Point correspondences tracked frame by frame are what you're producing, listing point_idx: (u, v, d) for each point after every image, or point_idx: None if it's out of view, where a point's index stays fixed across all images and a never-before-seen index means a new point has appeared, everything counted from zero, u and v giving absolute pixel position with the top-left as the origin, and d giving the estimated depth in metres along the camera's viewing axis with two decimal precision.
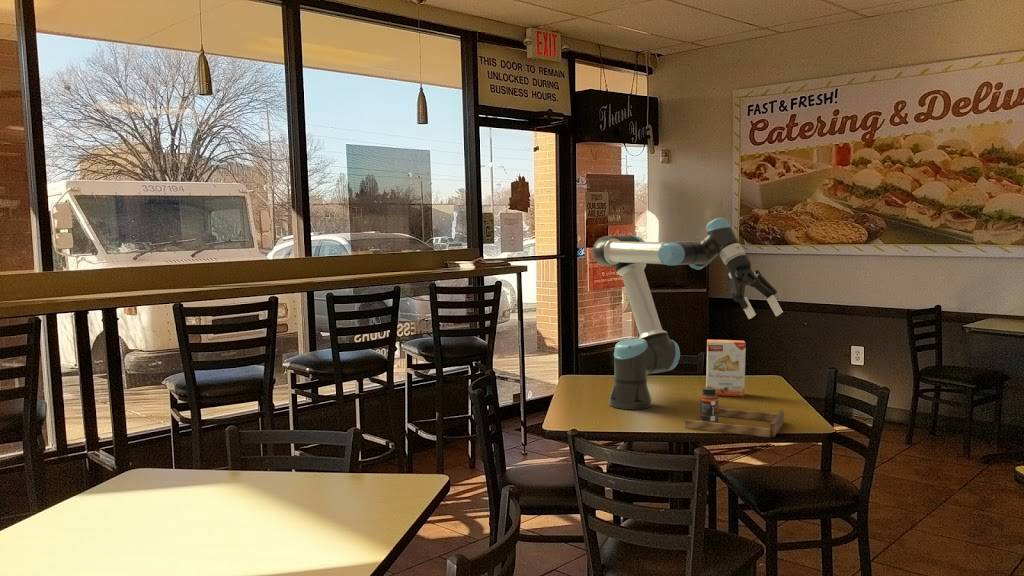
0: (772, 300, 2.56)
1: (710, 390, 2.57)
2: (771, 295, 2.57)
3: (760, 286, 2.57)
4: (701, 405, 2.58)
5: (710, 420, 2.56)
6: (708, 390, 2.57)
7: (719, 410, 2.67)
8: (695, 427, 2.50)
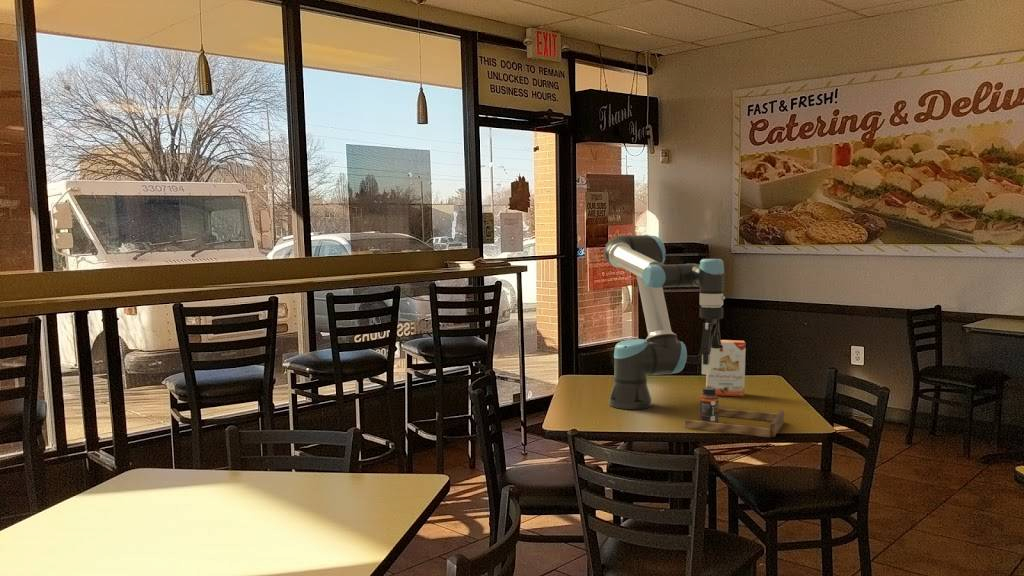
0: (716, 353, 2.63)
1: (710, 390, 2.57)
2: (717, 347, 2.64)
3: (715, 337, 2.61)
4: (701, 405, 2.58)
5: (710, 420, 2.56)
6: (708, 390, 2.57)
7: (719, 410, 2.67)
8: (695, 427, 2.50)
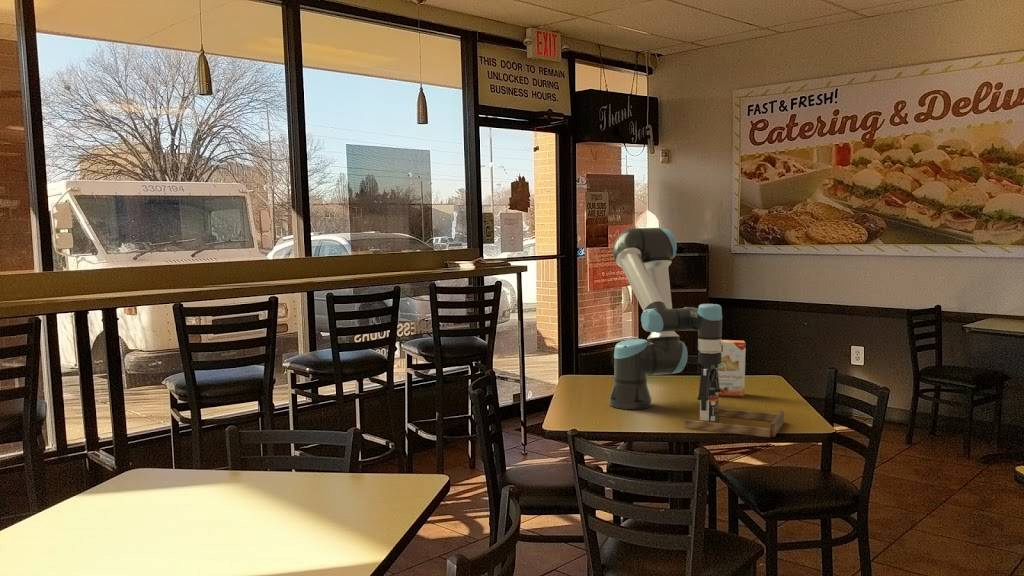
0: None
1: (710, 390, 2.57)
2: None
3: (713, 382, 2.62)
4: None
5: (710, 420, 2.56)
6: None
7: (719, 410, 2.67)
8: (695, 427, 2.50)
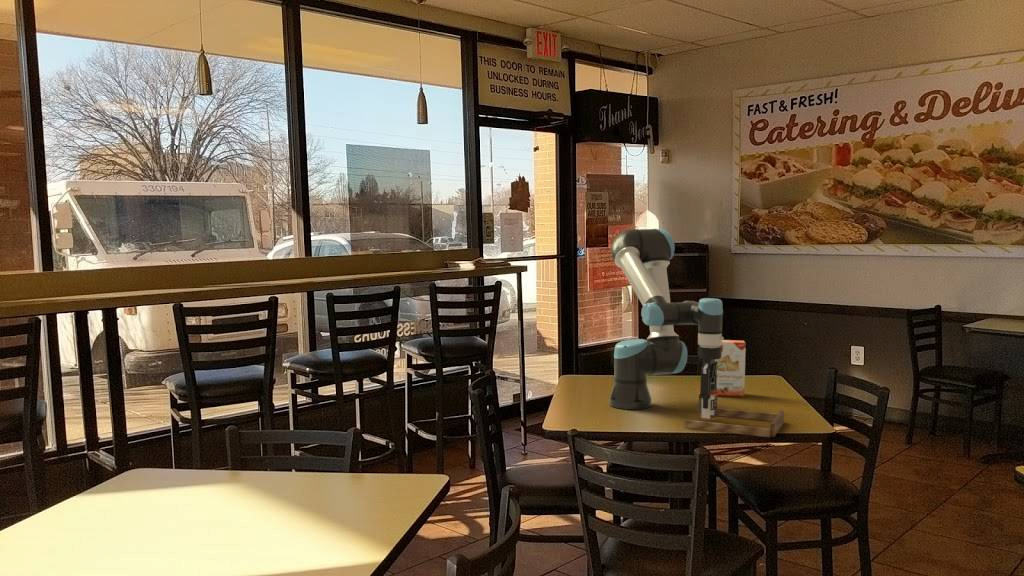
0: None
1: None
2: None
3: (712, 380, 2.60)
4: (700, 399, 2.58)
5: None
6: None
7: (719, 410, 2.67)
8: (695, 427, 2.50)
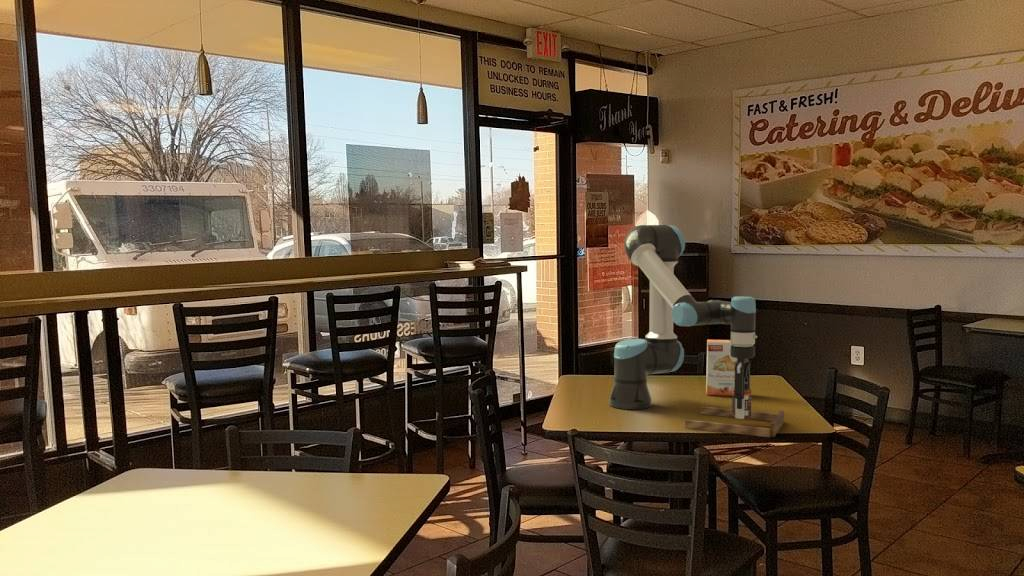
0: None
1: None
2: None
3: (745, 379, 2.55)
4: (734, 399, 2.53)
5: None
6: None
7: (719, 410, 2.67)
8: (695, 427, 2.50)
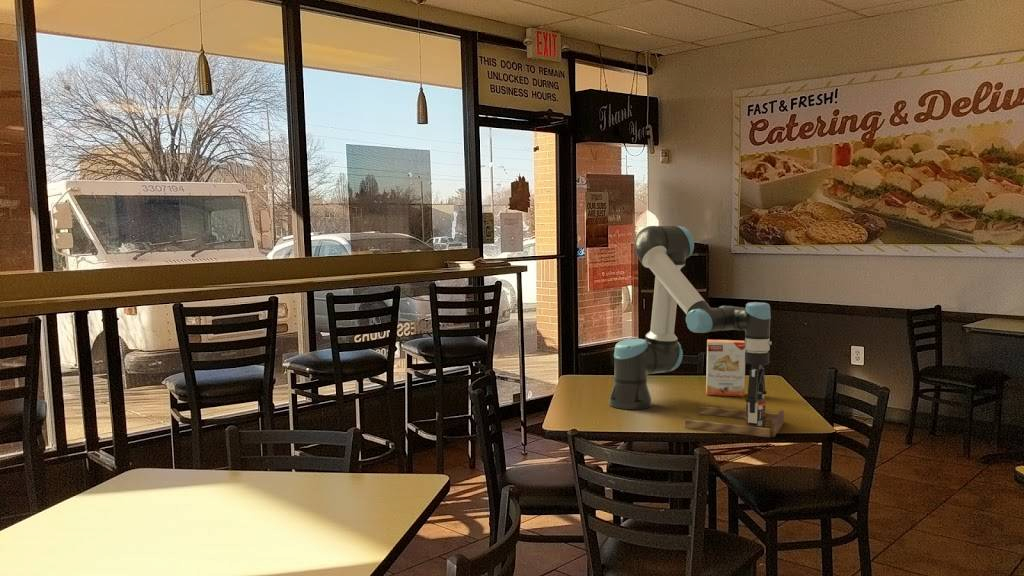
0: None
1: None
2: None
3: (760, 383, 2.55)
4: None
5: (757, 425, 2.50)
6: None
7: (719, 410, 2.67)
8: (695, 427, 2.50)
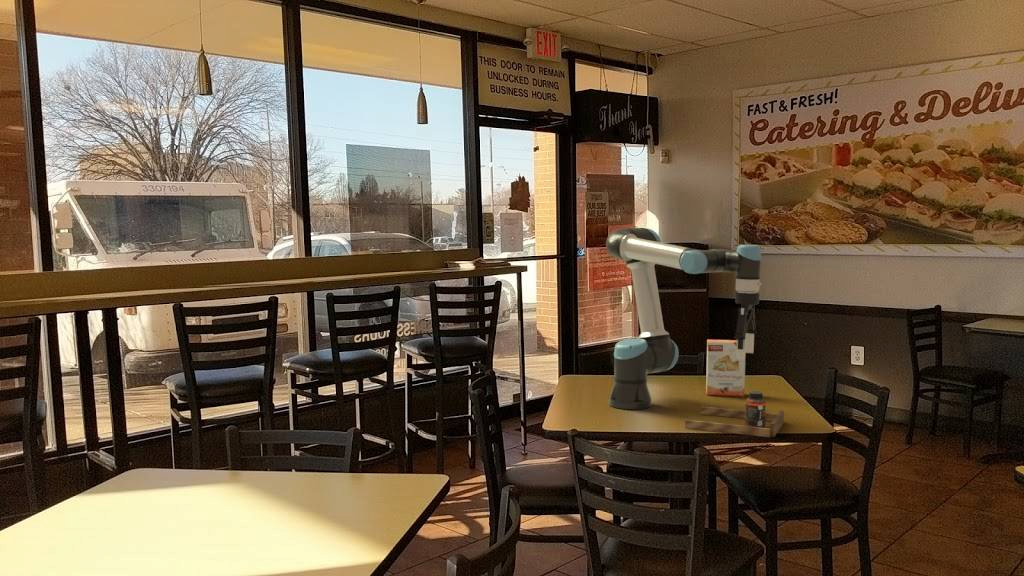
0: (750, 338, 2.66)
1: (757, 394, 2.50)
2: (751, 332, 2.66)
3: (750, 323, 2.63)
4: (748, 409, 2.51)
5: (757, 425, 2.50)
6: (755, 394, 2.50)
7: (719, 410, 2.67)
8: (695, 427, 2.50)
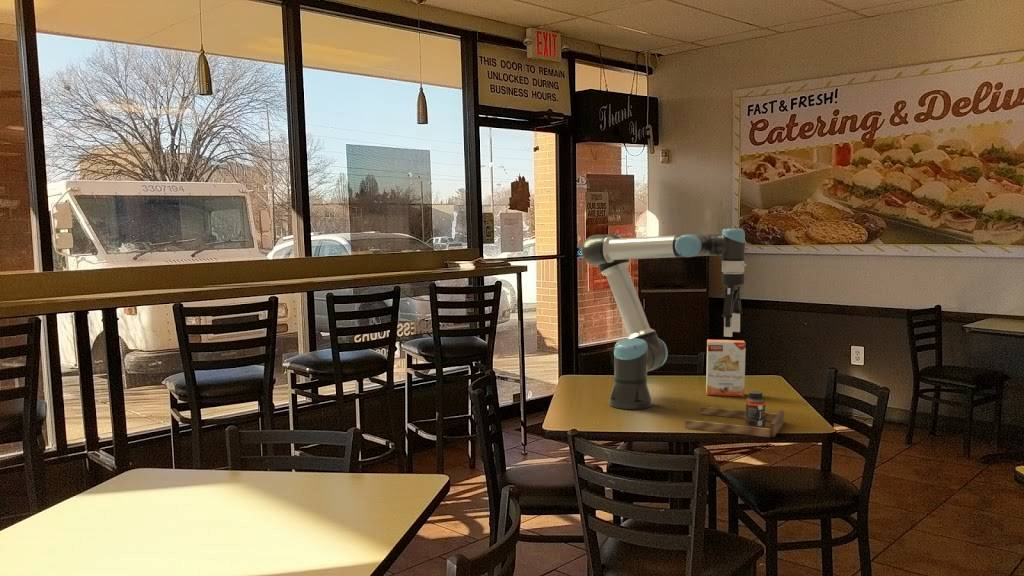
0: (737, 318, 2.80)
1: (757, 394, 2.50)
2: (737, 312, 2.80)
3: (736, 303, 2.77)
4: (748, 409, 2.51)
5: (757, 425, 2.50)
6: (755, 394, 2.50)
7: (719, 410, 2.67)
8: (695, 427, 2.50)
